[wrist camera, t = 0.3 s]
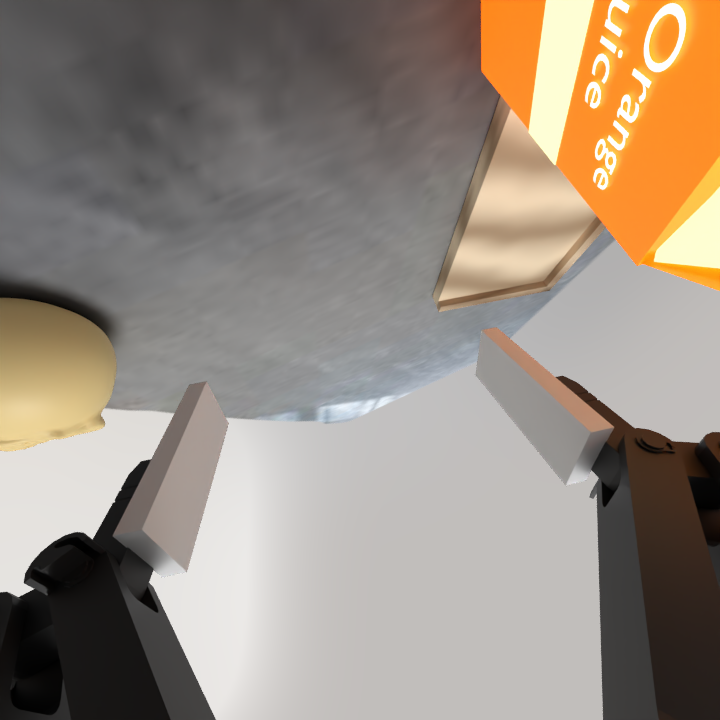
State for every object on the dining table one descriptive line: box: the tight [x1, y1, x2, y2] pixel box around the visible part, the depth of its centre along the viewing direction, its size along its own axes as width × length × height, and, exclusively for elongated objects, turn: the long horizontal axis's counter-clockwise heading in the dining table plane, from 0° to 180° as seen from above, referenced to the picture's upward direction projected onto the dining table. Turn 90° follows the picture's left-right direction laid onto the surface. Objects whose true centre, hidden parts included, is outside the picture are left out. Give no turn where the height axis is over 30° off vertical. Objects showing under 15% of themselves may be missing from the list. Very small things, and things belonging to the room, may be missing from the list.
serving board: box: [433, 95, 606, 312], centre depth 27 cm, size 20×14×2 cm
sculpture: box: [0, 298, 116, 451], centre depth 24 cm, size 11×12×11 cm
